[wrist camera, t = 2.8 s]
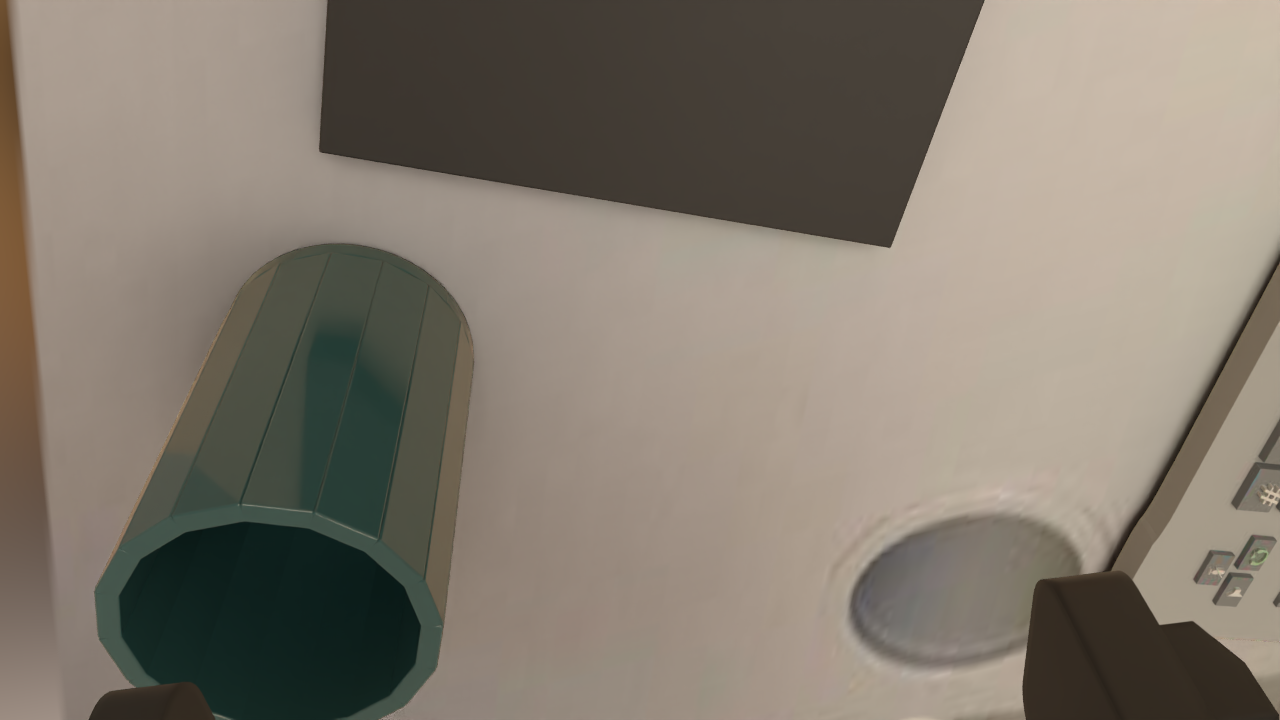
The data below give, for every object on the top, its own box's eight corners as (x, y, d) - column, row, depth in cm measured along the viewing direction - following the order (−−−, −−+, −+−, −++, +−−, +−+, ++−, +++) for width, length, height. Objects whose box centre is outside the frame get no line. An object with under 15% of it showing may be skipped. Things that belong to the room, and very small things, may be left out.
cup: (226, 429, 31) (104, 725, 23) (227, 223, 27) (84, 485, 19) (458, 457, 32) (423, 751, 24) (488, 264, 28) (459, 528, 20)
